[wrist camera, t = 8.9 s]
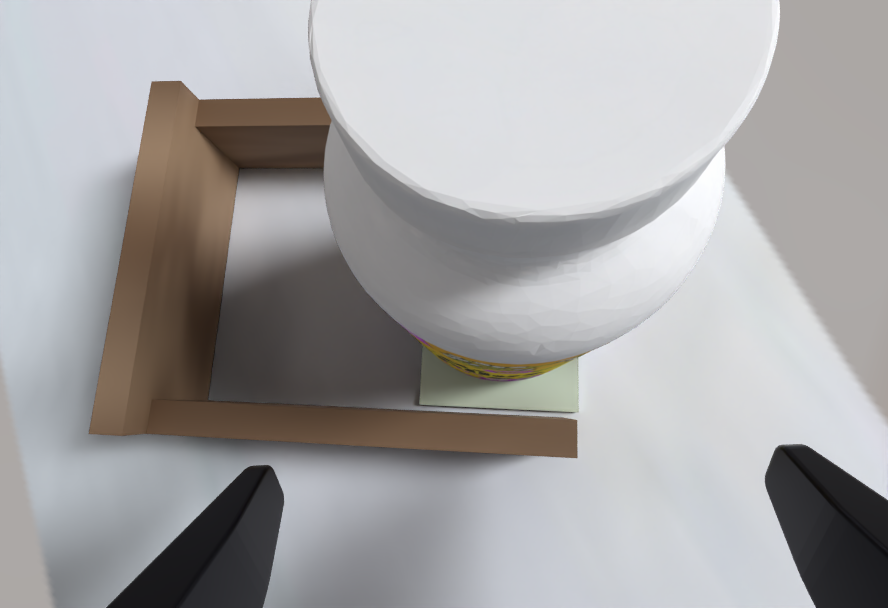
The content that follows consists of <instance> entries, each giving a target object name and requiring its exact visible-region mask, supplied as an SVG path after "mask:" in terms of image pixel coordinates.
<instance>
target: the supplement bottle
mask: <svg viewBox="0 0 888 608" xmlns="http://www.w3.org/2000/svg"><path fill="white" fill-rule="evenodd" d="M779 7H780V6H779V0H311V5H310V12H309V20H308V41H309V50H310V60H311V65H312V69H313V73H314V77H315V81H316V85H317V89H318V92H319V94H320V97H321V99H322V102H323V104H324V106H325V108H326V110H327V112H328V114H329V116H330V118H331V120H332V121H331V124H330V128H329V133H328V138H327V142H326V147H325V158H324V191H325V199H326V206H327V211H328V215H329V219H330V223H331V227H332V230H333V233H334V236H335V239H336V242H337V244H338V246H339V248H340V251H341V253H342V255H343V257H344V259H345V260H346V262H347V264H348V266H349V268H350V269H351V271H352V273H353V274H354V276H355V277H356V279H357V280H358V281H359V283H360V284H361V285H362V287H363V288H364V290H365V291H366V292H367V293H368V294H369V295H370V296H371V297H372V298H373V299H374V301H375V302H376V303H377V304H378V305H379V306H380V307H381V308H382V309H383V310H384V311H385V312H387V313H388V314H389V315H390V316H391V317H392V318H393V319H394V320H395V321H397V322H398V323H399V324H400V325H401V326H403V327H404V328H405V329H406V330H407V331H408V332H409V333H410V334H411V335H412V336H414V337H415V338H416V339H417V340H418V341H419V342H420V343H421V344H422V345H423V346H424V347H426V348H427V349H428V350H429V351H430V352H432V353H433V354H434V355H435V356H436V357H438V358H439V359H440V360H441V361H443V362H444V363H446V364H447V365H448V366H450V367H452V368H454V369H456V370H458V371H460V372H462V373H464V374H466V375H469V376H472V377H476V378H479V379H484V380H490V381H499V382H506V381H518V380H525V379H529V378H533V377H536V376H539V375H542V374H545V373H547V372H550V371H552V370H554V369H556V368H558V367H560V366H562V365H564V364H566V363H568V362H570V361H572V360H574V359H576V358H578V357H580V356H582V355H584V354H586V353H588V352H590V351H592V350H594V349H597V348H599V347H601V346H603V345H605V344H608V343H610V342H611V341H613V340H615V339H617V338H619V337H620V336H622V335H624V334H626V333H627V332H629V331H631V330H632V329H634V328H636V327H637V326H638V325H640V324H641V323H642V322H644V321H645V320H646V319H648V318H649V317H650V316H651V315H653V314H654V313H655V312H656V311H658V310H659V309H660V308H661V307H662V306H663V305H664V304H665V303H666V302H667V301H668V300H669V299H670V298H671V297H672V296H673V294H674V293H675V292H676V291H677V290H678V289H679V288H680V286H681V285H682V284H683V283H684V282H685V280H686V279H687V277H688V276H689V274H690V273H691V271H692V270H693V268H694V267H695V265H696V263H697V262H698V260H699V258H700V257H701V255H702V253H703V251H704V250H705V247H706V245H707V243H708V241H709V239H710V236H711V234H712V231H713V229H714V227H715V224H716V221H717V218H718V214H719V210H720V205H721V200H722V195H723V191H724V179H725V150H724V145H725V144H726V143H727V142H728V141H729V140H730V138H731V137H732V136H733V135H734V133H735V132H736V131H737V129H738V128H739V126H740V125H741V124H742V122H743V121H744V119H745V118H746V116H747V115H748V113H749V111H750V110H751V108H752V107H753V105H754V104H755V101H756V100H757V98H758V96H759V94H760V91H761V89H762V86H763V84H764V82H765V80H766V77H767V75H768V71H769V68H770V65H771V61H772V58H773V54H774V51H775V47H776V43H777V37H778V29H779V19H780V8H779Z"/></svg>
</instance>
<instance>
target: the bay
mask: <svg viewBox="0 0 888 608" xmlns="http://www.w3.org/2000/svg"><path fill="white" fill-rule="evenodd" d="M331 121H332V120H331V118H330V116H329V114H328V112H327V110H326V108H325V106H324V104H323V102H322V99H321V98H269V99H210V100H199V99H198V98H197V97H196V96H195V95H194V94H193V93H192V92H191V91H190V90H189V89H188V88H187V87H186V86H185V85H184V84H183V83H182V82H181V81H155V82H152V83H151V88H150V94H149V100H148V105H147V111H146V116H145V122H144V127H143V133H142V139H141V144H140V150H139V155H138V161H137V167H136V172H135V178H134V183H133V189H132V194H131V200H130V206H129V211H128V217H127V222H126V228H125V234H124V239H123V245H122V250H121V256H120V261H119V267H118V273H117V278H116V284H115V289H114V295H113V301H112V306H111V312H110V317H109V323H108V328H107V334H106V340H105V345H104V351H103V356H102V362H101V367H100V373H99V379H98V384H97V390H96V395H95V401H94V407H93V412H92V418H91V423H90V429H89V434H100V435H117V436H125V435H137V434H160V435H178V436H195V437H213V438H231V439H248V440H266V441H284V442H301V443H319V444H336V445H354V446H372V447H389V448H407V449H425V450H442V451H460V452H477V453H495V454H513V455H530V456H548V457H566V458H577V420H573V419H567V418H562V417H541V416H520V415H500V414H479V413H459V412H438V411H418V410H397V409H377V408H356V407H335V406H315V405H294V404H274V403H253V402H233V401H212V400H208V394H209V387H210V380H211V372H212V365H213V358H214V350H215V343H216V336H217V328H218V321H219V313H220V306H221V299H222V291H223V284H224V277H225V269H226V262H227V254H228V247H229V240H230V232H231V225H232V218H233V210H234V203H235V196H236V188H237V181H238V173H239V168H324V158H325V147H326V142H327V138H328V133H329V128H330V124H331ZM419 405H437V406H458V407H479V408H500V409H521V410H542V411H563V412H579V406H578V358H576V359H574V360H572V361H570V362H568V363H566V364H564V365H562V366H560V367H558V368H556V369H554V370H552V371H550V372H547V373H545V374H542V375H539V376H536V377H533V378H529V379H525V380H518V381H506V382H499V381H490V380H484V379H479V378H476V377H472V376H469V375H466V374H464V373H462V372H460V371H458V370H456V369H454V368H452V367H450V366H448V365H447V364H446V363H444V362H443V361H441V360H440V359H439V358H438V357H436V356H435V355H434V354H433V353H432V352H430V351H429V350H428V349H427V348H426V347H424V346H422V364H421V382H420V401H419Z"/></svg>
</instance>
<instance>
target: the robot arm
mask: <svg viewBox="0 0 888 608" xmlns="http://www.w3.org/2000/svg"><path fill="white" fill-rule="evenodd" d="M765 485H766V489H767V492H768V495H769V497H770V500H771V502H772V505H773V507H774V510H775V513H776V515H777V518H778V520H779V523H780V525H781V528H782V531H783V533H784V536H785V538H786V541H787V544H788V546H789V549H790V551H791V554H792V556H793V559H794V562H795V564H796V566H797V569H798V571H799V574H800V576H801V578H802V580H803V582H804V584H805V587H806V589H807V591H808V593H809V595H810V597H811V599H812V601H813V603H814V605H815V607H816V608H888V500H887V499H885V498H884V497H882V496H881V495H879V494H878V493H876V492H875V491H874V490H872V489H871V488H869V487H868V486H866V485H865V484H863V483H862V482H860V481H859V480H857V479H856V478H854V477H853V476H851V475H850V474H848V473H847V472H845V471H844V470H843V469H841V468H840V467H838V466H837V465H835V464H834V463H832V462H831V461H829V460H828V459H826V458H825V457H823V456H822V455H820V454H819V453H817V452H816V451H814V450H813V449H811V448H810V447H808V446H806V445H802V444H790V445H779V446H778V447H777V448H776V449H775V451H774V453H773V456H772V458H771V461H770V464H769V466H768V469H767V472H766V475H765ZM283 506H284V494H283V491H282V488H281V486H280V484H279V481H278V479H277V477H276V474H275V472H274V470H273V468H272V467H271V466H269V465H259V466H250V467H248V468H246V469H245V470H244V471H243V472H242V473H241V474H240V475H239V476H238V477H237V478H236V479H235V480H234V481H233V482H232V483H231V484H230V485H229V486H228V487H227V488H226V489H225V490H224V491H223V492H222V493H221V494H220V495H219V496H218V497H217V498H216V499H215V500H214V501H213V502H212V503H211V504H210V505H209V506H208V507H207V508H206V509H205V510H204V511H203V512H202V513H201V514H200V515H199V516H198V517H197V518H196V519H195V520H194V521H193V522H192V523H191V524H190V525H189V526H188V527H187V528H186V529H185V530H184V531H183V532H182V533H181V534H180V535H179V536H178V537H177V538H176V539H175V540H174V541H173V542H172V543H171V544H170V545H169V546H168V547H167V548H166V549H165V550H164V551H163V552H162V553H161V554H160V555H158V556H157V557H156V558H155V559H154V560H153V561H152V562H151V563H150V564H149V565H148V566H147V567H146V568H145V569H144V570H143V571H142V572H141V573H140V574H139V575H138V576H137V577H136V578H135V579H134V580H133V581H132V582H131V583H130V584H129V585H128V586H127V587H126V588H125V589H124V590H123V591H122V592H121V593H120V594H119V595H118V596H117V597H116V598H115V599H114V600H113V601H112V602H111V603H110V604H109V605H108V606H107V607H106V608H263V604H264V601H265V597H266V593H267V589H268V585H269V580H270V576H271V571H272V565H273V560H274V554H275V549H276V544H277V538H278V533H279V528H280V522H281V517H282V512H283Z"/></svg>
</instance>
